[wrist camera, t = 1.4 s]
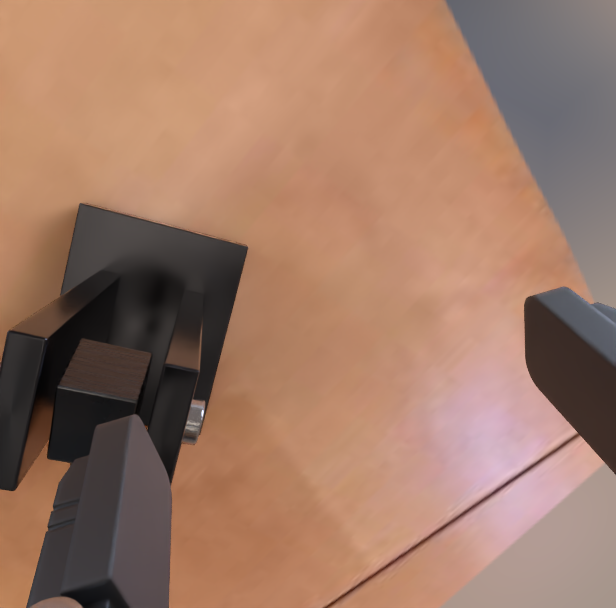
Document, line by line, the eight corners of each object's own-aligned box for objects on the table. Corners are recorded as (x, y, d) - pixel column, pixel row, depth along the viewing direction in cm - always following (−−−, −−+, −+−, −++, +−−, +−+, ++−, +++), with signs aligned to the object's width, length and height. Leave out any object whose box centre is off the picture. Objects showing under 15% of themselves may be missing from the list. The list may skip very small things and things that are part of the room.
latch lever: (104, 643, 26) (82, 733, 23) (22, 635, 25) (-12, 726, 22) (178, 346, 18) (160, 421, 15) (63, 321, 18) (19, 395, 14)
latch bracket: (200, 426, 30) (192, 608, 17) (43, 396, 28) (-105, 572, 15) (246, 245, 29) (279, 285, 15) (85, 202, 27) (-37, 207, 14)
